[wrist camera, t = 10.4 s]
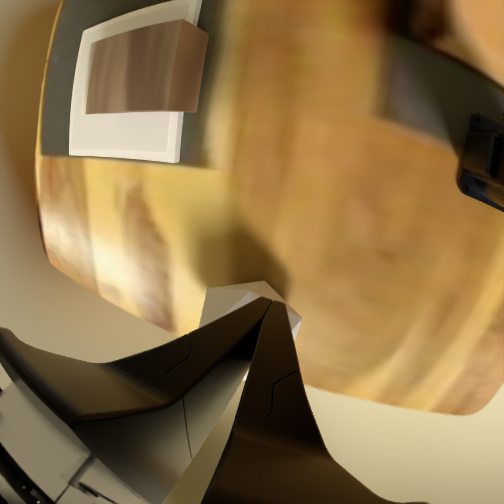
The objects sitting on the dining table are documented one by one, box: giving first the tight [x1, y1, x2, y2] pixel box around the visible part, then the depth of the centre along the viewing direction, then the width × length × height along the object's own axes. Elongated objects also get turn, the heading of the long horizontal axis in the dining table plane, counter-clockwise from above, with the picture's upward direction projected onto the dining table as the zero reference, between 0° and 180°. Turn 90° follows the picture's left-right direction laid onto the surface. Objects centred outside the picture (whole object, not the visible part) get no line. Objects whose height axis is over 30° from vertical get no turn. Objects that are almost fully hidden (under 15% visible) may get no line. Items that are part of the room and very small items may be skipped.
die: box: [199, 280, 302, 381], centre depth 22 cm, size 8×9×10 cm
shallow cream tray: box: [69, 0, 202, 163], centre depth 20 cm, size 16×16×1 cm
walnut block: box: [80, 19, 209, 115], centre depth 17 cm, size 4×7×10 cm
